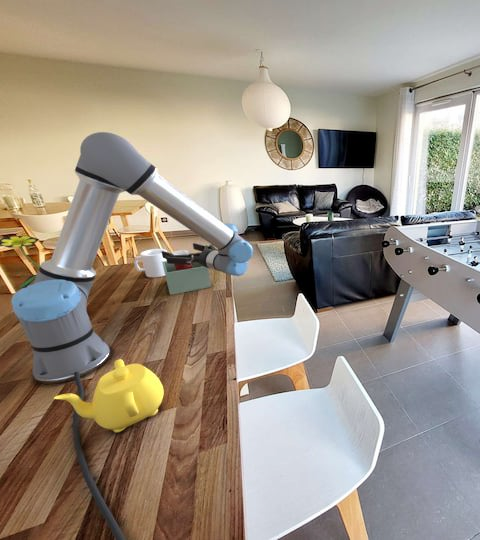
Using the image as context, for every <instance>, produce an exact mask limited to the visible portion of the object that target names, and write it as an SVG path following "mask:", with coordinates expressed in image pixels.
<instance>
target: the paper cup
mask: <svg viewBox="0 0 480 540" xmlns="http://www.w3.org/2000/svg"><path fill="white" fill-rule="evenodd" d="M171 253H172V254H174V255H189V254H190V253H191V251H190V250H189V249H188V250H187V249H179V250H175V251H172V252H171ZM174 266H175V269H176V271H179V270H185V269H191V268H193V267H192V265H187V264H174Z"/></svg>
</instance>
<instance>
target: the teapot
mask: <svg viewBox="0 0 480 540" xmlns="http://www.w3.org/2000/svg"><path fill="white" fill-rule="evenodd" d="M113 364H114V366H113V367H114V369H112V370H111V371H109V372H107V373H105V374H103V375H102V376H101V377H100V378H99V380H98V381H97V384H96V387H95V390H94V394H93V397H92V401H90V402H89V401H84V400H83V401H82V400H81V399H80V397H79V396H78V395H77V394H75V393H63V394H58V395H56V396H54V397H53V399H54V400H62V401H65V402H68V403H69V404H71V406H72V407H73V409H74V410H75V411H76V412H77V413H78V414H79V417H82V418H85V419H94V421H95V422H96V424H97V425H98V426H100V427H101V428H102V429H103V428H104V429H107V430H111V431H113V432H114V433H120V432H122V431H124V430H125V429H126V428H127V427H130V426H132V425H135V424H137V423H139V422H141V421H143V420H145V419H146V418H150V417H154V416H155V415H157V413H158V412H159V407H160V406H161V404H162V402H163V399H164V394H165V391H164V387H163V383H162V382H161V380H160V378H159V377H158V376H157V375H156V374H155V373H154V372H153V371H152V370H150V369H149V368H147V367H146V366H144V365H142V364H140V363H130V364H127V365H125V361H124V360H123V359H121V358H118V359H116V360H115V361H114V363H113Z"/></svg>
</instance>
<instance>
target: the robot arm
mask: <svg viewBox="0 0 480 540" xmlns="http://www.w3.org/2000/svg"><path fill="white" fill-rule="evenodd" d="M79 149H80V150H79V151H80V154H79V158H78V160H77V163H76V166H75V169H74V173H75V174H76V176H77V177H78V179H79V181H78V184H77V186H76V190H75V192H74V195H73V197H72V201H71V203H70V205H69V209H68V211H67V214H66V217H65V220H64V221H63V225H62V227H61V230H60V234H59V236H58V239H57V241H56V244H55V248H54V250H53V253H52V256H51V257H52V258H51V259H50V258H49V260H48V259H47V260H45V261H43V262H41V263H40V264H39V267H40V268H38V270H37V274H36V275H37V276H36V278H35V279H34V280H33V281H34V282H33V283H30V284H29V285H28V286H27V287H26V288H21V289H18V290H17V291H16V292H15V293H14V294H13V296H12V297H11V305H12V312H14V315H15V316H16V317H17V319H18V321H19V324H20V325H21V328H22V330H23V332H24V333H25V336H26V338H27V340H28V342H29V344H30V346H31V348H32V350H33V357H32V359H33V360H32V375H33V377H34V379H35V381H36V382H37V383H38V384H43V385H55V384H56V385H57V384H62V383H66V382H67V383H68V382H70V381H72V380H74V381H75V384H76V388H77V391H78V395H77V396H79V397H80V399H81V400H82V401H84V396H85V389H84V386H83V383H82V379H81V378H82V377H84V376H86V375H88V374H91V373H92V372H94V371H96V370H98V369H99V368H100V367H102V366H103V365H104V364H105V363H106V362H107V361H108V360H109V359H110V357H111V349H110V347H109V345H108V344H107V343H106V341H105V340H104V339H103V338H102V337H100V336H99V335H98V334H97V333H96V332H95V330H94V328H93V325H92V323H91V319H90V316H89V313H88V310H87V306H88V299H89V295H90V292H91V289H92V287H93V284H94V282H95V279H96V277H97V271H96V270H95V269H94V268H93V265H94V262H95V260H96V257H97V255H98V252H99V249H100V246H101V244H102V241H103V238H104V235H105V234H106V231H107V227H108V225H109V223H110V220H111V217H112V214H113V212H114V209H115V206H116V204H117V201H118V198H119V196H120V194H122V193H125V192H126V193H128V194H129V195H131V196H140V197H141V198H143V199H144V200H145V201H146V202H148V203H150V204H151V205H153V207H156V208H157V209H159V210H160V211H162V212H163V213H164V214H166V215H167V216H169V217H171V218H172V219H173V220H175V221H176V222H178V223H179V224H181V225H182V226H183V227H185V228H187V229H188V230H190V231H191V232H193V233H194V234H195V235H197V236H199V237H200V238H201V239H203V240H204V241H206V242H207V243H209V245H203V244H199V243H195V242H193V243H192V247H193V250H195V251H199V252H195V253H194V252H190V254H189V255H174V254H172V253H173V252H168V251H167V252H165V251H162V256H163V258H165V259H166V260H167V263H168V264H187V265H192V262H198V263H200V264H201V265H202V266H204V267H207V268H208V269H210V270H213V271H218V272H221V273H223V274H226V275H229V276H235V277H240V276H243V275H244V274H246V272H247V270H248V267H249V266H248V265H249V264H248V262H249V261H250V260H251V259H252V257H253V255H254V248H253V246H252V245H251V243H250V242H248V241H247V240H246V239H244V238H243V237H241V235H239V231H238V227H237V225H236V224H235V223H228V222H227V223H223V222H222V221H221V220H219V219H218V218H216V217H215V216H214V215H213V214H211V213H210V212H209V211H207V210H206V209H205V208H204V207H202V206H201V205H200V204H198V203H197V202H196V201H194V200H193V199H192V198H190V197H189V196H188V195H187V194H185V193H184V192H182V190H180V189H178V188H177V187H176V186H174V185H173V184H172V183H171V182H169V180H167V179H165V178H164V177H163V176H162V175H160V174H159V171H158V168H157V167H156V166H155V165H153V164H152V163H151V162H150V161H148V160H147V159H146V158H145V157H144V156H143V155H142V154H141V153H140V152H139V151H138V150H137V149H136V147H134V145H133V144H132V143H131V142H130V141H128V140H127V139H126V138H124V137H123V136H120V135H118V134H115V133H112V132H105V131H98V132H94V133H91V134H89V135H87V136H86V137H85V138H84V139H83V140H82V142H81V144H80V148H79ZM192 257H193V259H192ZM72 434H73V443H74V449H75V455H76V458H77V462H78V465H79V468H80V471H81V474H82V477H83V479H84V481H85V483H86V486H87V488H88V490H89V492H90V494H91V496H92V498H93V500H94V502H95V503H96V507H98V509H99V512H100V513H101V516H102V517H103V518H104V520H105V523H106V524H107V526H108V528H109V529H110V531H111V533H112V535H113V537H114V539H115V540H127V539H126V536H125V535H124V533H123V532H122V530H121V528H120V525H119V524H118V522H117V520H116V519H115V517H114V515H113V513H112V511H111V510H110V508H109V507H108V505H107V504H106V501H105V499H104V497H103V496H102V494H101V492H100V491H99V488H98V486H97V484H96V482H95V480H94V478H93V476H92V473H91V471H90V469H89V466H88V463H87V460H86V458H85V457H86V456H85V453H84V450H83V446H82V441H81V440H82V439H81V432H80V415H79V414H78V413H77V412H76V411H75V409H74V411H73V415H72Z"/></svg>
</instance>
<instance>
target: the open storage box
mask: <svg viewBox="0 0 480 540" xmlns="http://www.w3.org/2000/svg"><path fill="white" fill-rule="evenodd" d="M192 259H193V256H192ZM162 264H163V268H164V272H165V276H164V277H165V279H166V280H165V281H166V285H167V288H168V294H169V295H170V296H173V295H177V294H182V293H183V294H184V293H187V292H192V291H197V290H202V289H207V288H212V281H211V277H210V270H209V268H207V267H204V266H202V265H201V264H200V263H198V262H192V267H193V268H191V269H185V270H179V271H176V269H175V266H174V264H168V263H167V261H162Z"/></svg>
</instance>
